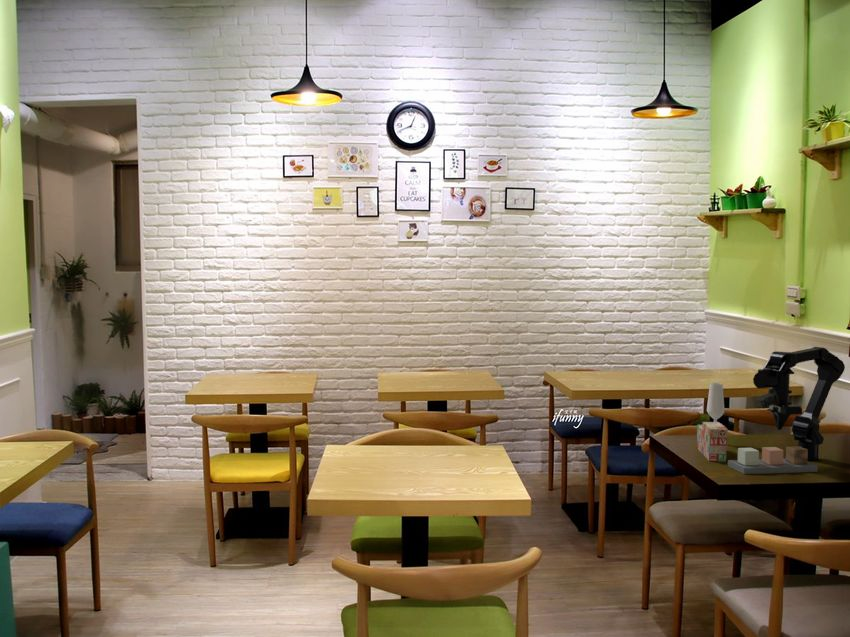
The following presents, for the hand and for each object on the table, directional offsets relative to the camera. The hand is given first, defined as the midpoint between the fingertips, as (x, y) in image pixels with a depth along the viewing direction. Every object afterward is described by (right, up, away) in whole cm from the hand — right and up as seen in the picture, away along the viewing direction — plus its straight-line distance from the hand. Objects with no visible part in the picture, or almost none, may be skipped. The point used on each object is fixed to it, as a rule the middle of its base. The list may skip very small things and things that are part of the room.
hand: (779, 429), depth 283 cm
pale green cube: (-15, -11, -9) cm, 20 cm away
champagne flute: (-11, -10, +32) cm, 35 cm away
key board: (-6, -13, -8) cm, 16 cm away
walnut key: (+3, -10, -7) cm, 13 cm away
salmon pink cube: (-6, -11, -8) cm, 15 cm away
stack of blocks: (-20, -12, +13) cm, 26 cm away
